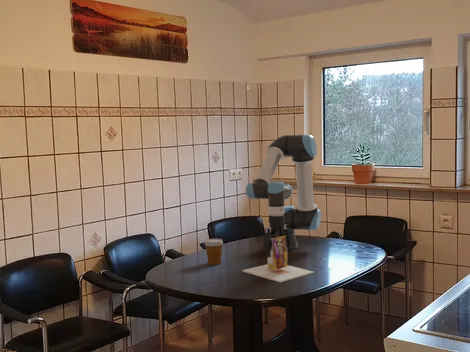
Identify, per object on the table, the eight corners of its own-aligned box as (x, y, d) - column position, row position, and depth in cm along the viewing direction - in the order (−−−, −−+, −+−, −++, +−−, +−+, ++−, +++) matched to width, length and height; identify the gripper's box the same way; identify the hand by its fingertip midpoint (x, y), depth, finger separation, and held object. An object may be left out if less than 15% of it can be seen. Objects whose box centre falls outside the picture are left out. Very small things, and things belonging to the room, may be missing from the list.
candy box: (281, 265, 265) (280, 234, 264) (287, 266, 262) (287, 235, 260) (267, 268, 259) (267, 236, 258) (273, 270, 256) (273, 238, 255)
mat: (242, 271, 264) (242, 270, 264) (275, 263, 278) (275, 261, 278) (280, 282, 244) (280, 280, 244) (313, 273, 258) (313, 271, 258)
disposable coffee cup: (209, 260, 287) (208, 238, 286) (226, 261, 284) (225, 238, 282) (202, 265, 278) (201, 241, 277) (219, 266, 275) (219, 242, 274)
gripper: (265, 218, 248) (266, 267, 251) (298, 212, 262) (299, 259, 264) (254, 216, 254) (255, 264, 256) (287, 211, 268) (288, 256, 270)
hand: (277, 261), depth 260 cm, fingers closed on candy box, 9 cm apart
